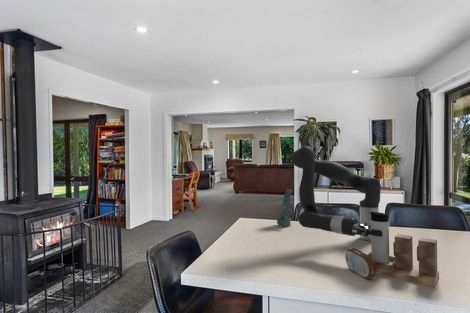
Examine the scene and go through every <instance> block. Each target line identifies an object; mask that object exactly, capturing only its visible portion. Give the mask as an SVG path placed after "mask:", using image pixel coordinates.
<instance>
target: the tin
mask: <svg viewBox="0 0 470 313" xmlns="http://www.w3.org/2000/svg"><path fill="white" fill-rule="evenodd" d="M344 254H345V256H344V257H345V262H346V265H347V267H348V269H349V270H350V271H352V272H353V273H355V274H357V275H358V276H360V277H361V278H362V279H365V280H368V279H374V278H376V276H377V273H376V266H375V263H374V261H373V260H372V258H371V257H370V256H369V255H367V254H368V253H365V252H363V251H361V250H359V249H357V248H355V247H352V248H349V249H347V250H346V251H345V253H344Z"/></svg>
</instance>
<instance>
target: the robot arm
mask: <svg viewBox="0 0 470 313" xmlns="http://www.w3.org/2000/svg"><path fill="white" fill-rule="evenodd" d="M290 161H291V163H292V165H293V166H295V167H296V168H299V169H302V173H301V174H302V175H301V179H300V182H299V189H298V190H299V191H298V192H299V193H298V194H299V204H300V207H301V208H302V209H303V212H302V213H300V214H299V216H298V222H299V224H300V225H301V226H302V227H304V228H308V229H316V230H317V229H318V230H322V231H324V232H329V233H331V232H332V233H336V234H340V235H344V236H345V235H346V236H352V237H355V236H356V235H358V236H359V238H360V239H362V240H363V241H364V240H365V241H370V242H371V235H373V236H379V237H382V236H383V232H382V231H380V230H374V229H372V230H371V214H370V212H379V210H380V209H379V207H380V206H379V204H380V203H381V188H382V187H381V183H380V180H379V179H378V178H376V177H373V176H364V175H363V176H362V175H359V174H355V173H354V172H352V171H350V169H349V168H348V167H346V166H344V165H342V164H341V163H338V162H335V161H332V160H323V159H322V160H321V159H316V154H315V151H314V149H313V148H312V147H311V146H308V145H304V146H302V147H300V148H298V149H297V150H295V151H293V152H292V154H291V155H290ZM315 174H318V175H320V176H323V177H324V178H327V179H329V180H331V181H334V182H336V183H339V184H343V185H346V186H347V187H348V186H349V187H351V189H354V190H355V191H357V192H359V193H361V194H364V199H362V200H360V201H359V222H358V219H357V218H356V217H351V216H342V215H332V214H319V212H318V208H317V206H316V199H315V188H314V187H315V186H314V185H315V184H314V183H315V182H314V179H315ZM379 213H380V212H379Z"/></svg>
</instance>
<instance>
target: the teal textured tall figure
mask: <svg viewBox="0 0 470 313" xmlns="http://www.w3.org/2000/svg"><path fill="white" fill-rule="evenodd" d="M292 193H293V190H292V189H289V188H287V189H286V190H285V193H284V196H283V200H282V205H281V212H280V217H278V219H276V224H277V226H278V227H279V226H281V227H280V228H290V227H291V226H292V225H291V223H292V222H291V220H292V219H291V218H290V217H288V216H289V214H291V215H293V212H294V211H293V209H290V204H291V197H292ZM289 226H290V227H289Z"/></svg>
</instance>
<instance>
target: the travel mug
mask: <svg viewBox="0 0 470 313" xmlns="http://www.w3.org/2000/svg"><path fill="white" fill-rule="evenodd" d="M370 214H371V230H372V229H374V230H380V231H382V232H383V236H382V237H379V236H373V235H371V241H370V242H371V243H370V244H371V246H370V248H371V251H370V252H371V256H372V260H373V261H377V262H381V263H386V264H390V261H389V256H390V224H389V222H390V221H389V220H390V219H389V214H388V213H387V214H386V213H383V212H370Z"/></svg>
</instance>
